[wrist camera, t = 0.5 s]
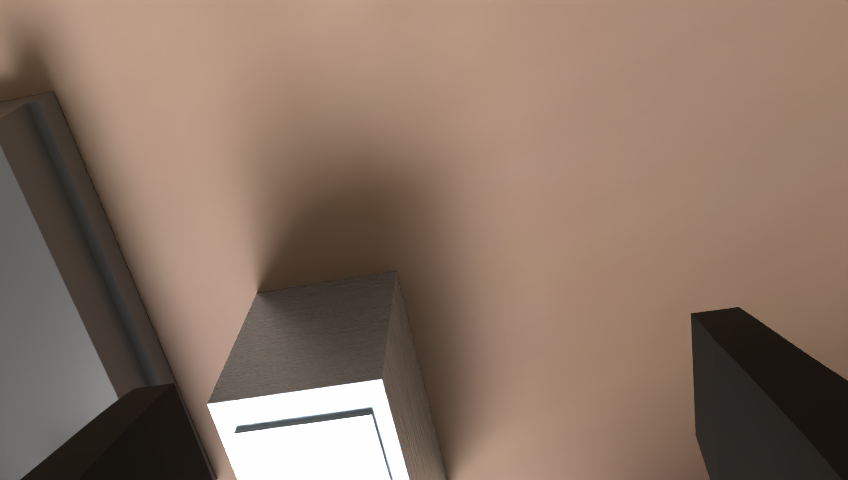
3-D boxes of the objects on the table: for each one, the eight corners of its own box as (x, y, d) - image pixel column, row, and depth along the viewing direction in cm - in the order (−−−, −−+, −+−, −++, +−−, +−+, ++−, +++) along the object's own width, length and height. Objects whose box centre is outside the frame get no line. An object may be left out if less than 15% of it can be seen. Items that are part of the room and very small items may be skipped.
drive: (448, 484, 25) (448, 628, 20) (328, 499, 25) (300, 643, 20) (396, 268, 21) (380, 383, 16) (257, 291, 22) (205, 408, 17)
